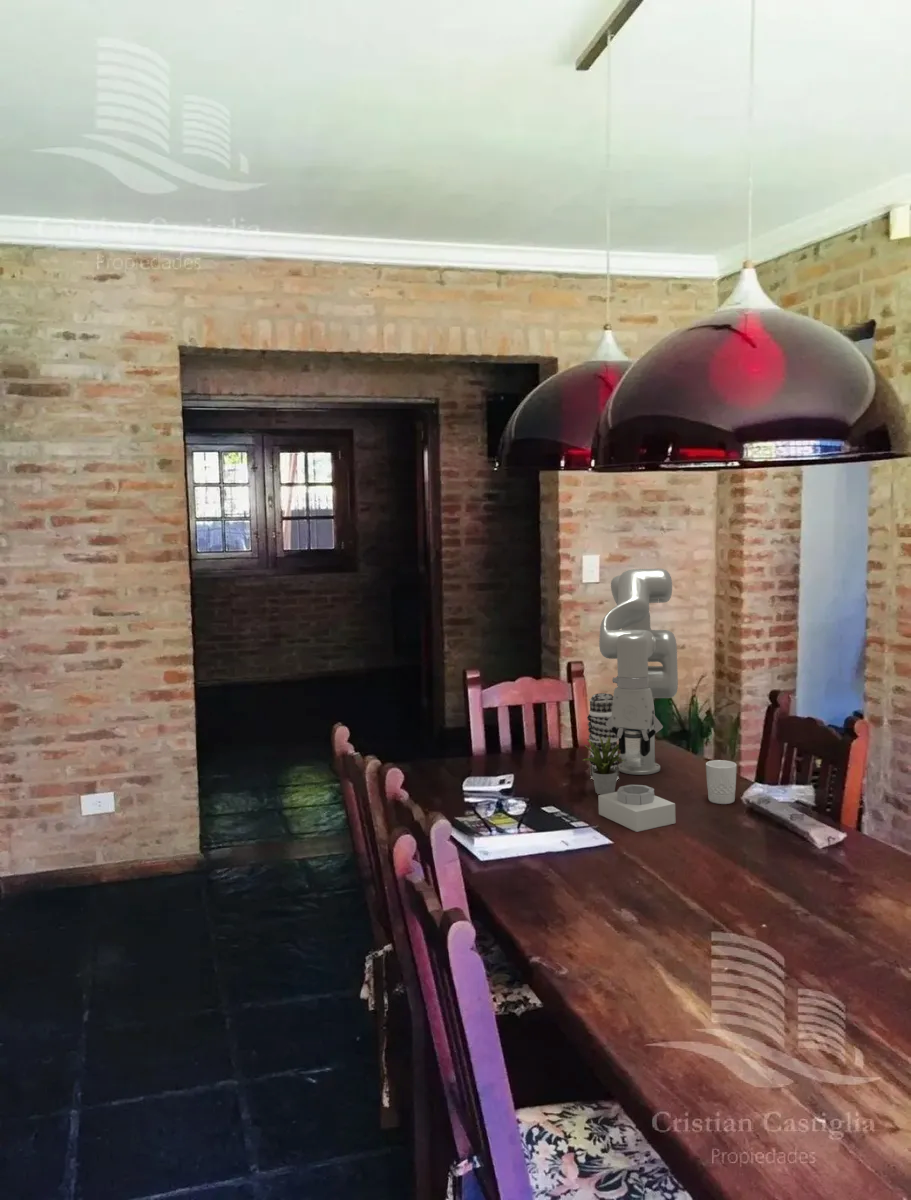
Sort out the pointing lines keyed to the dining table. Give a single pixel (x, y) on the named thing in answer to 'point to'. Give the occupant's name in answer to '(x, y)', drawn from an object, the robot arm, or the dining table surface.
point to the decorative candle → (601, 726)
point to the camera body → (637, 808)
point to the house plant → (604, 767)
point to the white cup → (721, 781)
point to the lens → (633, 748)
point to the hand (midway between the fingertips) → (634, 753)
